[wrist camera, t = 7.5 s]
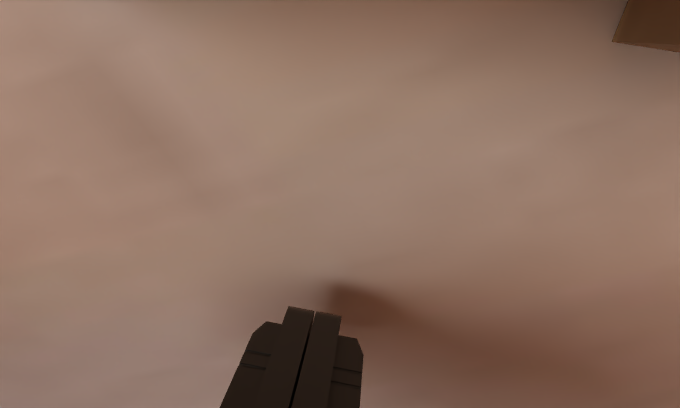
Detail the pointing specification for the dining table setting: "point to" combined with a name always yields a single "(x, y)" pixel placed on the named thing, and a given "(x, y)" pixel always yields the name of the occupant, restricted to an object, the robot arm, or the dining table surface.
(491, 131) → the dining table surface
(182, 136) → the dining table surface
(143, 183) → the dining table surface
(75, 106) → the dining table surface
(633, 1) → the bridge
